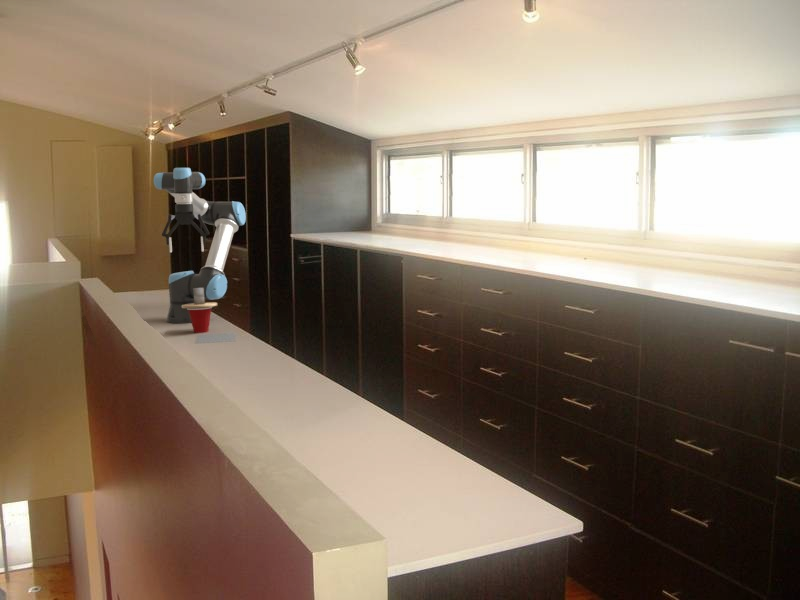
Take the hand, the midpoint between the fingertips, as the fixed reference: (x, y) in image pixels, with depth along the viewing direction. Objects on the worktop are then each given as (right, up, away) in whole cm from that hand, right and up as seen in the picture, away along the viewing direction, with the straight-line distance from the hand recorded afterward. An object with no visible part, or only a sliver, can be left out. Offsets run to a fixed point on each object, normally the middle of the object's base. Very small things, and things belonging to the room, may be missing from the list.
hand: (186, 251), depth 352 cm
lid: (+7, -24, -7) cm, 26 cm away
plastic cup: (+8, -36, -5) cm, 37 cm away
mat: (+17, -38, -19) cm, 46 cm away
